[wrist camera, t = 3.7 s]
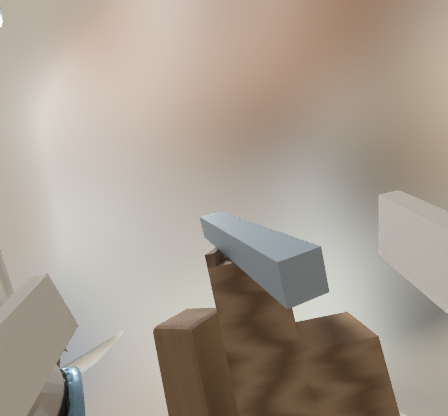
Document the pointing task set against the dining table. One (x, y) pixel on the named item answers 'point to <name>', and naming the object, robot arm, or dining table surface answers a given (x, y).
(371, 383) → the walnut stand
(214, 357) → the wooden block
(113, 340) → the dining table surface
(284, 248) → the slate rail
